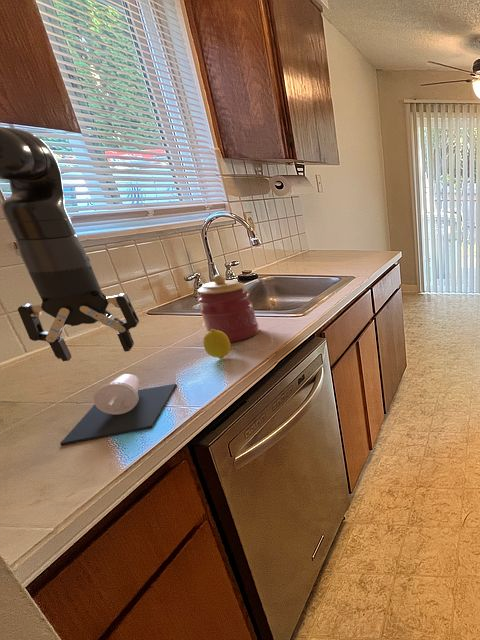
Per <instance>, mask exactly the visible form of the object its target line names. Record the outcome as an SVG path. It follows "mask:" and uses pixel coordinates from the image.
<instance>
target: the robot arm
mask: <svg viewBox="0 0 480 640" xmlns="http://www.w3.org/2000/svg"><path fill="white" fill-rule="evenodd" d="M0 180H5V181H8V182H9V187H10V190H11V192H10V193H11V196H10V197H9V198H6V199H5V200H2V202H1V204H0V205H1V206H0V208H1V211H2V215H3V216H4V218H5V221H6V223H7V225H8V227H9V229H10V231H11V233H12V236H13V237H14V239H15V243H16V245H17V249H18V252H19V255H20V258H21V260H22V261H23V264H24V266H25V268H26V270H27V272H28V275H29V276H30V279H31V281H32V283H33V285H34V286H35V289H36V291H37V293H38V295H39V297H40V299H41V303H37V304H35V303H34V304H33V303H31V302H26V303H23V304H22V305H20V306H19V307H18V308H17V312H18V315H19V316H20V319H21V321H22V324H23V326H24V329H25V331H26V333H27V335H28V338H29V340H31V341H33V342H37V341H43V342H47V343H48V345H49V346H50V349H51V350H52V352H53V355H54V357H56V359H58V360H60V359H61V361H62V362H69V361H70V360H71V359H72V354H71V351H70V349H69V347H68V345H67V343H66V341H65V339H64V337H61V335H62V334H63V332H64V330H65V328H66V327H67V325H68V326H71V327H76V326H80V325H83V324H84V325H92V324H96V323H97V322H99V323H101V324H102V325H104V326H107V327H110V328H111V329H113V330H114V331H116V332H117V333H116V336H117V337H118V340H119V342H120V344H121V347H122V349H123V351H124V353H127V352H130V351H131V350H132V348H133V347H134V344H135V342H134V339H133V337H132V334H131V332H130V329H135V328H136V327H137V326H138V324H139V323H140V319H139V316H138V315H137V313H136V311H135V308H134V306H133V304H132V302H131V300H130V298H129V296H128V294H127V293H126V292H121V293H119V294H117V295H111V296H107V295H105V293H104V292H103V291H102V289H101V287H100V284H99V282H98V279H97V276H96V275H95V272H94V269H93V267H92V265H91V260H90V258H89V256H88V254H87V253H86V250H85V248H84V246H83V244H82V243H81V241H80V240H79V237H78V236H77V233H76V231H75V229H74V226H73V224H72V221H71V218H70V216H69V214H68V211H67V210H66V206H65V194H64V192H65V191H64V186H63V180H62V173H61V169H60V165H59V163H58V160H57V159H56V156H55V154H54V152H53V151H52V149H50V147H49V146H48V145H47V144H46V143H45V141H44V140H42V139H41V138H39V137H38V136H36V135H35V134H33V133H31V132H29V131H26V130H23V129H18V128H11V127H4V126H0ZM109 304H112V305H113V306H114V307H115V308H117V309H120V311H121V313H122V316H123V317H124V320H125V321H124V320H122V319H120V318H119V317H117V315H115V314H114V313H113V312H111V311H110V310H108V309H107V308H108V306H109ZM42 311H43V312H44V313H45V314H47V315H49V316H51V317H53V318H54V320H53V322H52V325H51V326H50V328H49V331H46V330H45V329H44V327H43V325H42V322H41V320H40V317H41V315H42Z"/></svg>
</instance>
